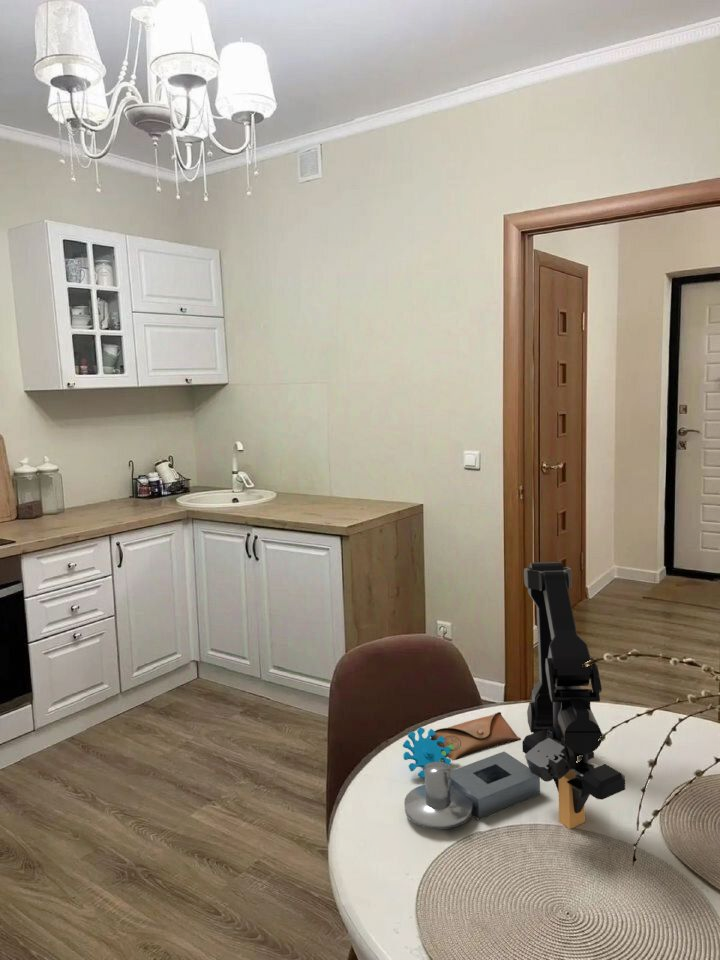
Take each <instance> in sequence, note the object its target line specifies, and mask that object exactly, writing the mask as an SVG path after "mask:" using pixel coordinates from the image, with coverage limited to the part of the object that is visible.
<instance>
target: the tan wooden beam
mask: <svg viewBox="0 0 720 960" xmlns="http://www.w3.org/2000/svg"><path fill="white" fill-rule="evenodd" d="M575 775H576V773H575V772H574V771H572V770H569V772H568V773H566V774H565V775H564V776H563V777H562V778H561V779H558V780H559V793H558V822H559V823H561V824H562V825H563V826H564V827H566V828H567V829H569V830H570V829H572V828H575V827H577V826H579V825H581V824H583V823H585V822H586V821H585V820H586V819H585V816H586V813H585V812H586V810H585V805H586V804H585V805H584V807H583V808H582V810H581V812H579V813H575V811H574V804H573V788H572V786H570V785H569V784H568V783H567V781H569V780H571V779H574V778H575Z"/></svg>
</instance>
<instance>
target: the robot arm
mask: <svg viewBox="0 0 720 960" xmlns="http://www.w3.org/2000/svg"><path fill="white" fill-rule="evenodd" d="M523 581H524V586H525V588H527V593H528V595H529V596H530V598H531V599H532V600H533V602H534V605H535V607H536V624H537V625H536V626H537V630H536V631H537V649H538V650H537V652H538V655H537V656H538V675H539V677H538V680H537V682H536V684H535V685H534V687H533V689H532V691H531V702H530V701H529V703H528V707H527V711H526V715H527V725H528V727H529V730H530V731H529V732H530V733H531V734H528V735H526V736H525V737H524V738H523V740H522V744H521V745H522V753H524V754H525V755H524V757H525V760H526V763H527V765H528V766H527V767H529V769H530V771H531V773H533V774H535V775H537V776H538V777H540V780H542V781H544V782H551V781H554V784H555V787H556V790H557V792H558V794H559V780H558V779H561V778H562V777H563V776H564V775H565V774H566V773H568V772H569V770H572V771H574V772H575V773H576V775H575V778H574V779H571V780H569V781H567V783H568V784H569V785H570V786H572V788H573V804H574V811H575V813H579V812H581V810H582V808H583V807H584V805H586V803H587V801H588V799H589V797H590V795H591V797H594V798H595V800H605V799H607V798H609V797H612V796H613V795H616V794H618V793H620V792H623V791H624V790H626V776H625V775H624V774H623V773H622V772H620V771H618V770H617V769H615V768H613V767H611V766H610V765H608V764H605V763H603V764H602V765H598V764H597V763H596V764H595V763H593V762H589V761H590V760H593V759H594V758H595V752H594V751H596V750H597V749H598V748H599V747H600V745H601V744H602V741H603V734H602V730H601V728H600V725H599V724H598V722H597V720H596V718H595V715H594V713H593V711H592V709H591V702H594V703H595V702H598V703H599V702H601V698H600V697H601V696H600V693H602V690H603V689H602V683H601V676H600V673H599V667H598V664H597V663H596V662H595V663H594V664H592V665H590V666H588V667H582V664H584V663H585V662H587V661H589V660H595V659H594V657H591V654H590V650H589V647H588V644H587V642H586V641H584V640H583V639H582V638H581V637H580V636H579V635H578V632H577V627H576V621H575V616H574V612H573V607H572V603H571V598H570V593H569V589H571V588H573V583H572V582H573V581H572V568H570V567H568V566H564V565H563V561H540V562H539V561H537V562H535V561H534V562H530V563H529V567H524V569H523ZM584 666H585V665H584ZM589 684H590V685H591V688H584V689H583V688H581V687H588V686H589ZM600 736H602V737H601V738H602V739H601V740H599V741H598V739H599V738H600ZM579 755H583V757H582V760H581V761H580V762H578V763H576V761H577V756H579Z"/></svg>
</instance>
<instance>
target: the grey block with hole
mask: <svg viewBox="0 0 720 960" xmlns="http://www.w3.org/2000/svg"><path fill="white" fill-rule="evenodd" d="M423 770H425V777H424V784H422V785H419V786H417V787H414V788H413V789H411V790H410V791H409V792H408V793H407V794H406V796H405V798H404V802H403V804H404V805H403V806H404V812H405V814H406V815H405V816H406V817H407V818H408V819H409V820H410V821H411V822H412V823H414V824H415V825H418V826H419V827H422V828H426V829H432V830H446V829H447V830H448V829H452V828H456V827H460V826H461V825H463V824H465V823H466V822H467V821H468V820H469V819H470V818H471V817H472V816H473V817H474V818H475V819H477V820H478V821H481V820H484V819H485V818H488V817H490V816H493V815H495V814H498V813H500V812H502V811H505V810H508V809H509V808H512V807H514V806H517V805H519V804H522V803H523V802H526V801H529V800H531V799H533V798H536V797H538V796H540V795H541V778H540V777H538V776H537V775H535V774H533V773H531V771H530V769H529V766H527V765H526V764H525V763H523V762H521V761H520V760H518V759H517V758H515V757H514V756H512V755H511V754H509V753H507V752H506V751H500V752H498V753H496V754H493V755H491V756H487V757H485V758H482V759H479V760H476V761H475V762H471V763H469V764H467V765H466V764H465V765H463V766H461V767H458V768H455V769H453V770H451V769H450V765H447V764H445V763H444V762H443V761H441V762H431V763H428V764H427V765H426V766H425V768H423Z"/></svg>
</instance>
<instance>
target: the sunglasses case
mask: <svg viewBox="0 0 720 960" xmlns="http://www.w3.org/2000/svg"><path fill="white" fill-rule="evenodd" d="M434 731H435V732H436V733H435V735H434V736H432V737H430V739H431V740H437V739H438V738H439V737H440V736H443V738H444V740H445V742H444V743H442V744H440V743H437V745H438V746H440V747H443V748H444V747H448V746H449V745H451V744H452V745H454V749H453V750H452V751H451V752H450V753H449V755H448V756H447V757H446V758H448V759H450V760H451V761H455V760H458V759H461V758H464V757H467V756H469V755H472V754H474V753H478V752H481V751H484V750H488V749H491V748H494V747H497V746H500V745H501V746H502V745H503V744H508V743H512V742H517V741H519V740H522V738H521V737H519V736H517V734H516V733H515V731H514V730H513V728H512V727H511V726H510V725H509V723H508V722H507V721H506V719H505V718H504V717H503V715H502V712H500V711H499V712H495V713H494V714H491V715H488V716H487V715H486V716H483V717H479V718H475V719H472V720H469V721H468V720H467V721H465V722H461V723H458V724H454V725H451V726H448V727H442V728H437V729H436V730H434Z"/></svg>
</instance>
